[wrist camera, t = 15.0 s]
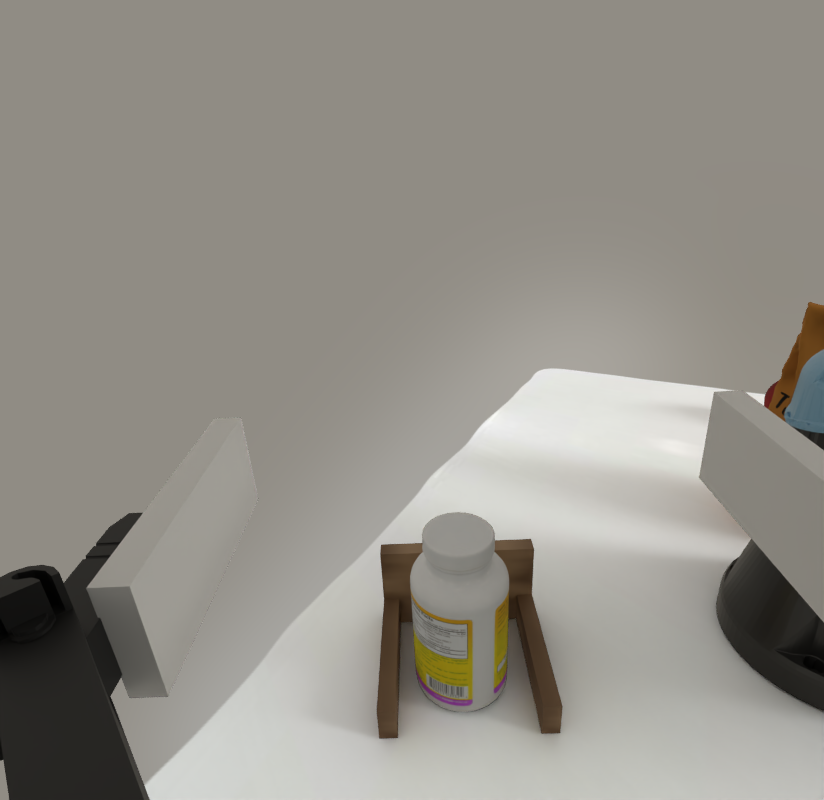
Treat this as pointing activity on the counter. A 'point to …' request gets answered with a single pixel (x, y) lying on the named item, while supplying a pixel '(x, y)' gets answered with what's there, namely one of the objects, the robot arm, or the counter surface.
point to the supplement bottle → (460, 613)
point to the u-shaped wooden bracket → (521, 607)
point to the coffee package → (799, 358)
